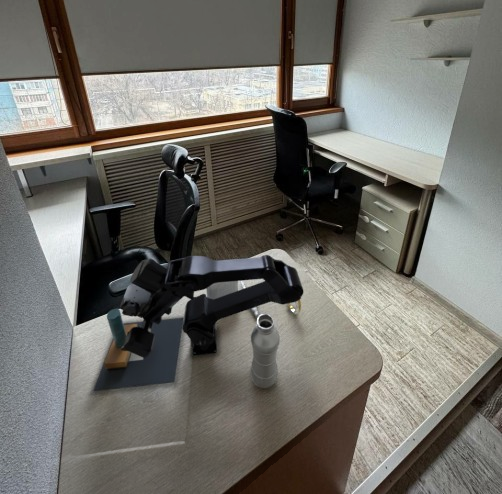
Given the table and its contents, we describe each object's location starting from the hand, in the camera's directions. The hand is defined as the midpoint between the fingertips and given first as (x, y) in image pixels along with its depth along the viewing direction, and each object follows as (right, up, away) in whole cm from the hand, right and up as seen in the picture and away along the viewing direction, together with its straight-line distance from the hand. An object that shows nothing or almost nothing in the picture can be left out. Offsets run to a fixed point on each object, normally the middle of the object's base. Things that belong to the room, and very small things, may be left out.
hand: (128, 331), depth 70 cm
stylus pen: (+29, -1, +14) cm, 32 cm away
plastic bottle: (+35, -9, -3) cm, 37 cm away
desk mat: (+3, -7, +3) cm, 8 cm away
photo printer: (+23, -1, +16) cm, 28 cm away
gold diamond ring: (+45, -2, +14) cm, 47 cm away
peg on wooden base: (-2, -7, +2) cm, 7 cm away
